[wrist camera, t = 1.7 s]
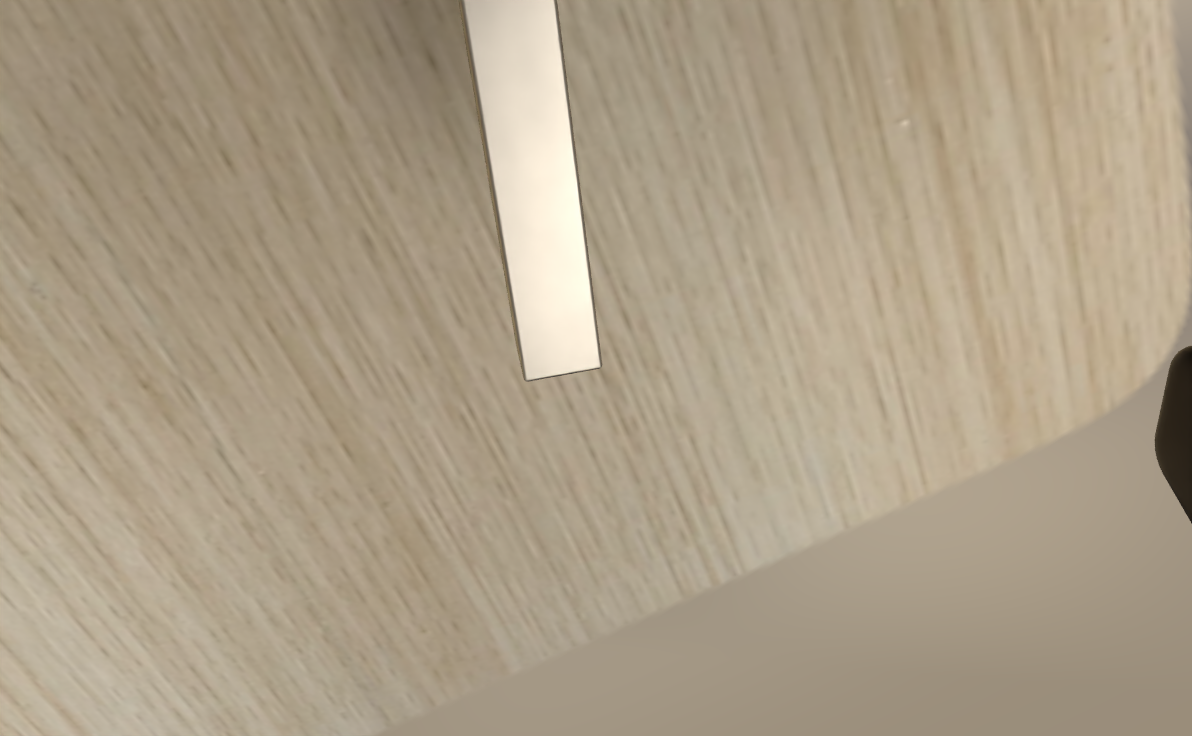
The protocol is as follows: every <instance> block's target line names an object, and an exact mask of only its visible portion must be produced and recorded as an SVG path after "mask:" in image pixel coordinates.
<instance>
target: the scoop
mask: <svg viewBox="0 0 1192 736" xmlns="http://www.w3.org/2000/svg"><path fill="white" fill-rule="evenodd" d="M458 2H459V8H460V14H461V20H462V26H463V32H464V38H465V44H466V50H467V56H468V62H469V68H470V74H471V79H472V85H473V91H474V97H475V103H476V109H477V115H478V121H479V127H480V133H481V139H482V145H483V151H484V157H485V163H486V169H487V175H488V181H489V186H490V192H491V198H492V204H493V210H494V216H495V222H496V228H497V234H498V240H499V246H500V252H501V258H502V264H503V270H504V276H505V282H506V287H507V293H508V299H509V305H510V311H511V317H512V323H513V329H514V335H515V341H516V346H517V351H518V355H519V360H520V364H521V369H522V374H523V378H524V380H525V381H533V380H539V379H544V378H550V377H555V376H561V375H566V374H572V373H577V372H583V371H588V370H594V369H599V368H601V367H602V359H601V351H600V343H599V335H598V327H597V319H596V311H595V303H594V295H593V286H592V278H591V270H590V262H589V254H588V246H587V238H586V230H585V222H584V214H583V206H582V198H581V190H580V182H579V174H578V166H577V158H576V149H575V141H574V133H573V125H572V117H571V109H570V101H569V93H568V85H567V77H566V69H565V61H564V53H563V45H562V37H561V29H560V21H559V12H558V4H557V0H458Z"/></svg>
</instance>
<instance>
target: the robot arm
mask: <svg viewBox="0 0 1192 736" xmlns="http://www.w3.org/2000/svg"><path fill="white" fill-rule="evenodd" d="M1155 451H1156V456H1157V460H1158V463H1159V466H1160V468H1161V470H1162V472H1163V475H1164V476H1165V478H1166V480H1167V481H1168V483H1169V485H1170V486H1171V488H1172V490H1173V492H1174V493H1175V495H1176V497H1177V499H1178V500H1179V502H1180V504H1181V506H1182V507H1183V509H1184V511H1185V512H1186V514H1187V516H1188V518H1189V519H1190V521H1191V523H1192V346H1189V347H1186V348H1184V349H1182V350H1181V351H1179V352H1178V353H1177V354H1176V356H1175V357H1174V358H1173V360H1172V362H1171V365H1170V368H1169V373H1168V377H1167V382H1166V386H1165V391H1164V396H1163V401H1162V405H1161V410H1160V415H1159V419H1158V425H1157V429H1156V433H1155Z"/></svg>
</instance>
